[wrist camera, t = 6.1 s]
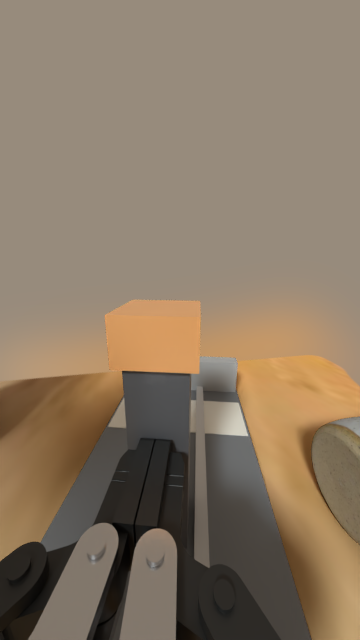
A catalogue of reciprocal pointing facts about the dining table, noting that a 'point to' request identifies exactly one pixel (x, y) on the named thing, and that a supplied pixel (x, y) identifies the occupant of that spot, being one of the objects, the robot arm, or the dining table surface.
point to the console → (204, 498)
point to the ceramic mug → (340, 470)
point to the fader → (157, 373)
